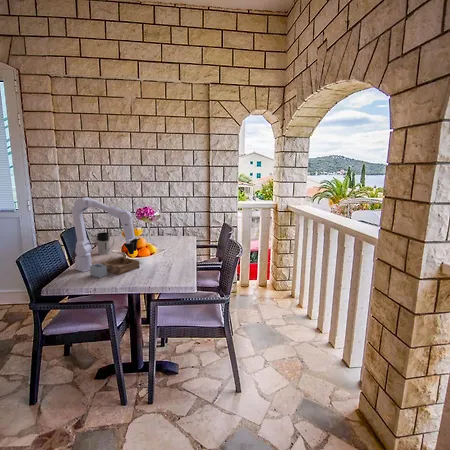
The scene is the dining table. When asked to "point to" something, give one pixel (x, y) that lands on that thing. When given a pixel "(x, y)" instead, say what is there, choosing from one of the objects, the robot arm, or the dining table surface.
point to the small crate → (98, 270)
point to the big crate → (121, 265)
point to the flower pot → (123, 253)
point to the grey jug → (103, 243)
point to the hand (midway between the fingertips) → (133, 252)
